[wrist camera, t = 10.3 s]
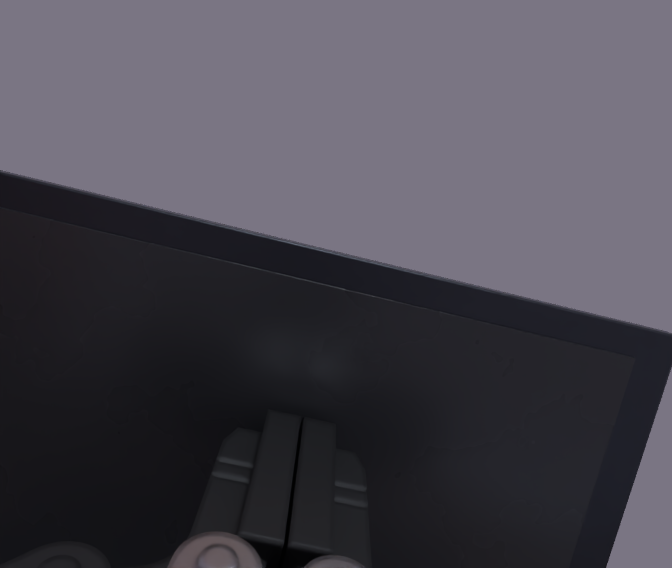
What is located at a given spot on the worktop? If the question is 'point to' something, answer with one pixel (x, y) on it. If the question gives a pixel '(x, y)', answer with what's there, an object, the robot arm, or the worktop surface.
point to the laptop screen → (300, 388)
